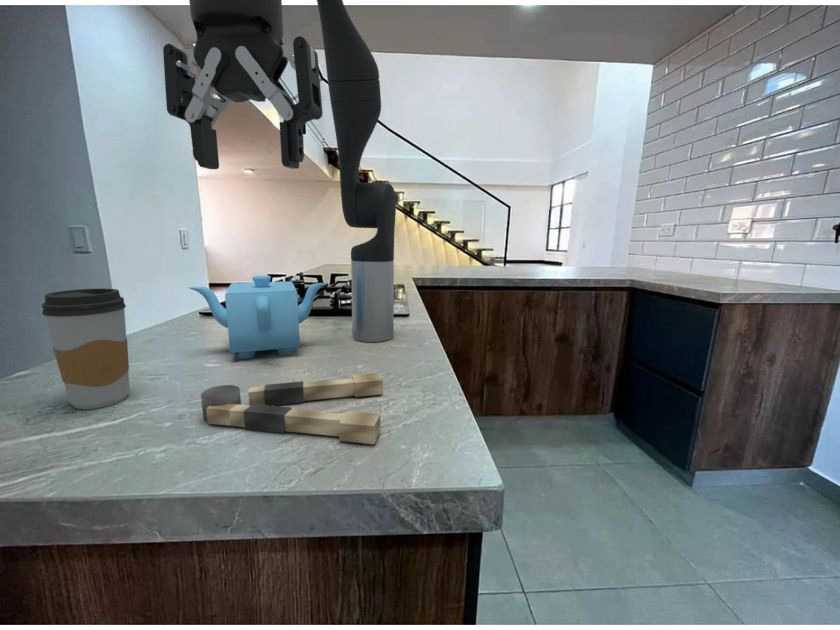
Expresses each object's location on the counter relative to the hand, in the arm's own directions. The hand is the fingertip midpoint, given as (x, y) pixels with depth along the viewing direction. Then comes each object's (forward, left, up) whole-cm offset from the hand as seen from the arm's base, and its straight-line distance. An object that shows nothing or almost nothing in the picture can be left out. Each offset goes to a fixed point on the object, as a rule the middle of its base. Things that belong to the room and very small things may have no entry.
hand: (249, 167), depth 37 cm
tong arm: (-12, +1, -29) cm, 32 cm away
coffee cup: (-6, -28, -30) cm, 41 cm away
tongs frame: (-4, 0, -29) cm, 30 cm away
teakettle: (-33, -19, -30) cm, 48 cm away
